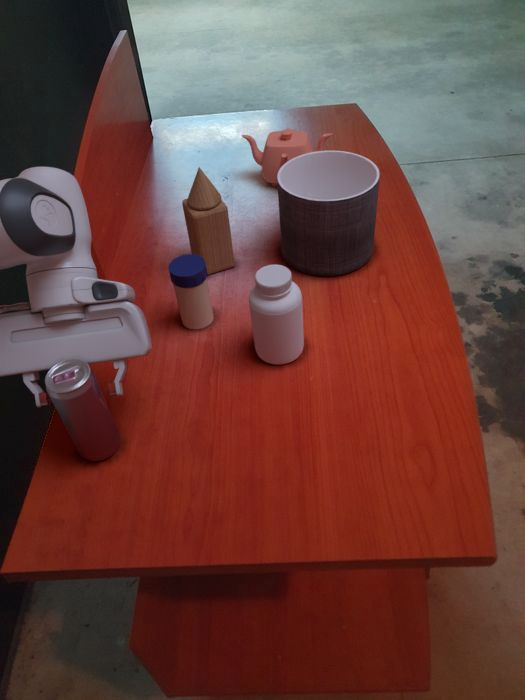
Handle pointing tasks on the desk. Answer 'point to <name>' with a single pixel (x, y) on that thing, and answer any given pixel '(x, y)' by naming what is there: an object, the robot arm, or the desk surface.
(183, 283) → the jar lid
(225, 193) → the desk surface
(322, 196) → the planter
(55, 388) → the beverage can
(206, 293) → the jar
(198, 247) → the decorative item
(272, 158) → the teapot
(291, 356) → the pill bottle
